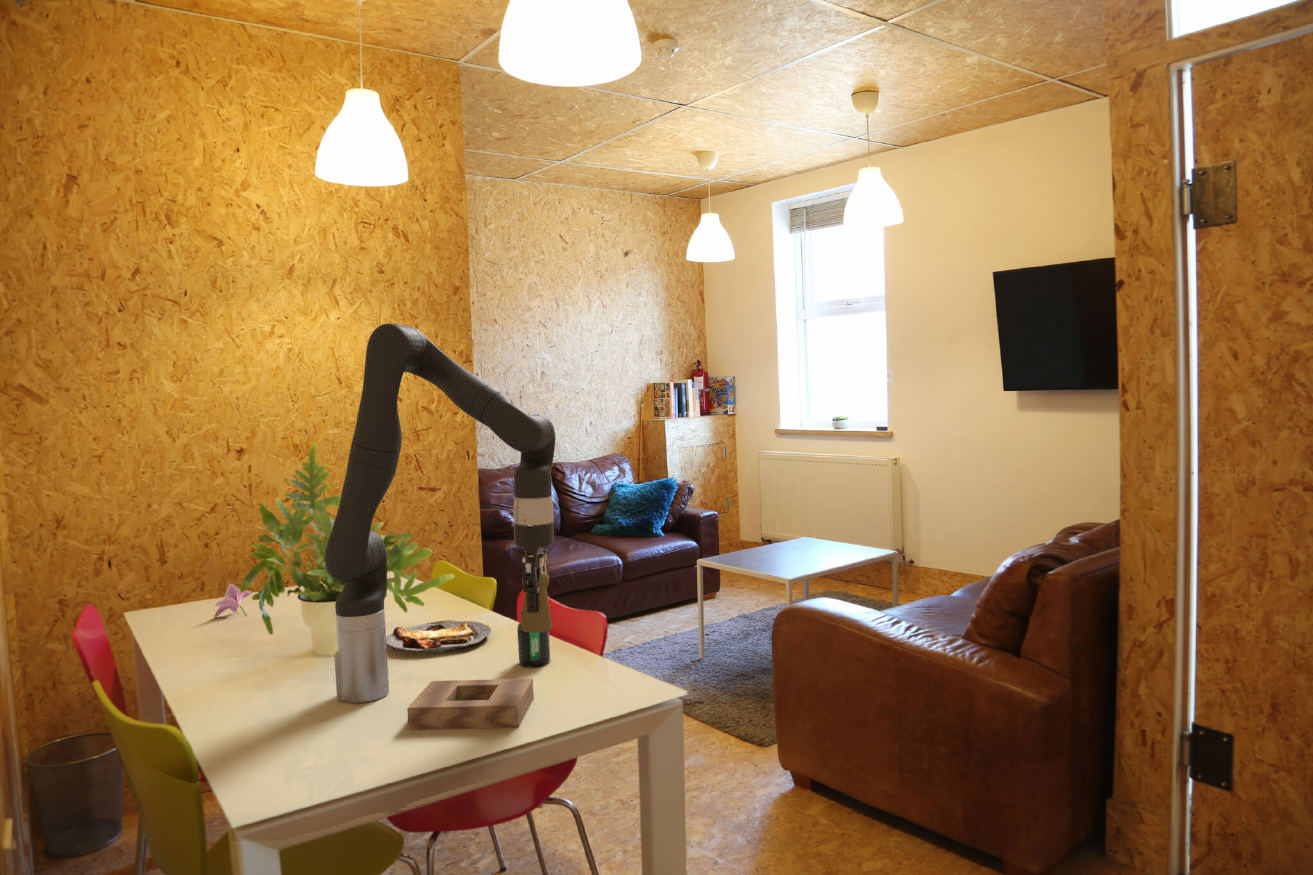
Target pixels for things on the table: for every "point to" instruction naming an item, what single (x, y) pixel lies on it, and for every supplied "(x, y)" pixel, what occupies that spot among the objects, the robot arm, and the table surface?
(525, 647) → the supplement bottle
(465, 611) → the table surface
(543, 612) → the cork
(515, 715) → the holder block
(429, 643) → the food plate
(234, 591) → the lily
